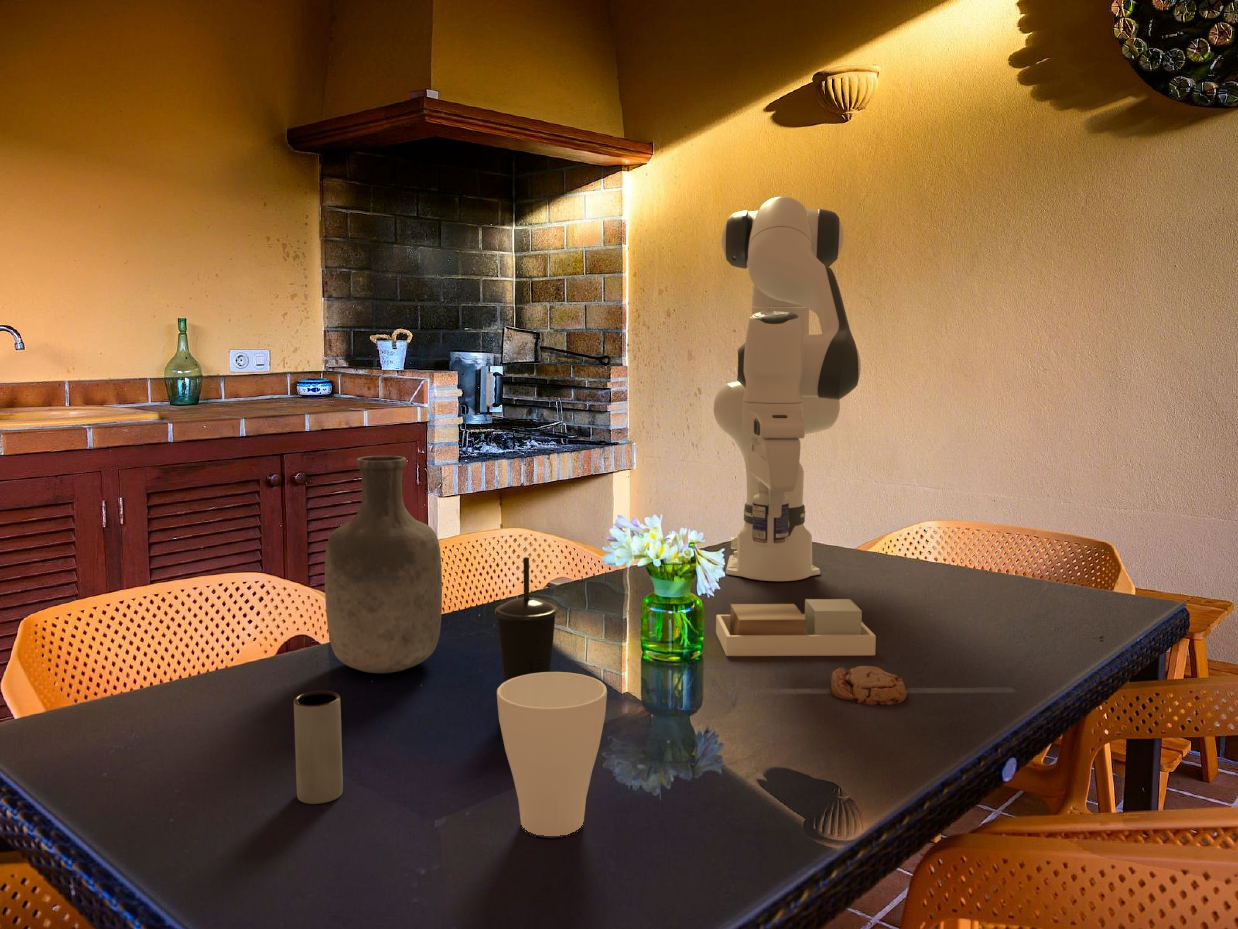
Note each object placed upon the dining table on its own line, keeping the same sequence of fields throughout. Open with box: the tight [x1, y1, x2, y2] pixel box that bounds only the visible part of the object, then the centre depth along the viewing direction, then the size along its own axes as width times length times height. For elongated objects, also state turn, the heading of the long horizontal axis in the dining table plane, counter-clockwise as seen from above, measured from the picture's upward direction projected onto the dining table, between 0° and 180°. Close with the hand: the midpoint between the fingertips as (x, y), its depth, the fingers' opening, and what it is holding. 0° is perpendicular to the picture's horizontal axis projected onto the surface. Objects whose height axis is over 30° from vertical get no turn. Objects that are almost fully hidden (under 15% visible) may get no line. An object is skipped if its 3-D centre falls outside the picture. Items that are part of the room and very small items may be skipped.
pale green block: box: [804, 598, 863, 635], centre depth 157 cm, size 7×7×6 cm
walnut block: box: [729, 603, 807, 635], centre depth 157 cm, size 9×10×5 cm
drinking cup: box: [494, 556, 559, 683], centre depth 127 cm, size 8×8×20 cm
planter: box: [293, 690, 344, 805], centre depth 105 cm, size 4×4×10 cm
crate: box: [715, 613, 877, 657], centre depth 157 cm, size 12×22×4 cm, turn 92°
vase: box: [324, 455, 443, 674], centre depth 144 cm, size 16×16×30 cm
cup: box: [496, 671, 608, 836], centre depth 99 cm, size 10×10×14 cm
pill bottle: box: [752, 480, 789, 548], centre depth 155 cm, size 5×5×10 cm
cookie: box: [830, 665, 907, 706], centre depth 138 cm, size 10×11×3 cm
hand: (770, 513), depth 155 cm, fingers closed on pill bottle, 5 cm apart
